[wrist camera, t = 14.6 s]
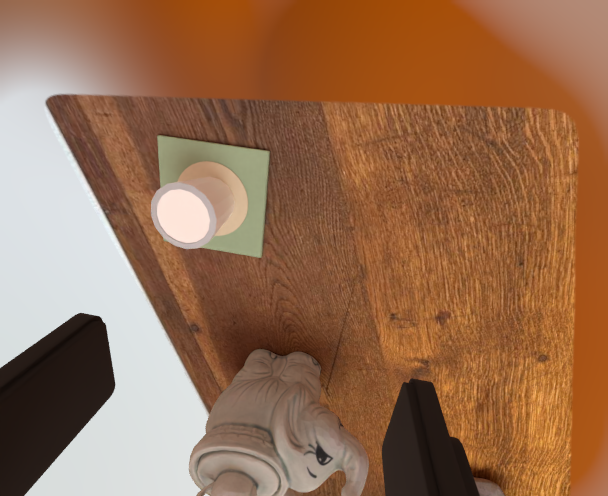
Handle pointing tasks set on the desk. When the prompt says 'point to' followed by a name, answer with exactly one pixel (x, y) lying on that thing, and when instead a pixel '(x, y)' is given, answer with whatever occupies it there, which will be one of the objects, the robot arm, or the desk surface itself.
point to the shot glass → (192, 211)
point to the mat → (233, 172)
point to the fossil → (488, 487)
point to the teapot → (275, 434)
